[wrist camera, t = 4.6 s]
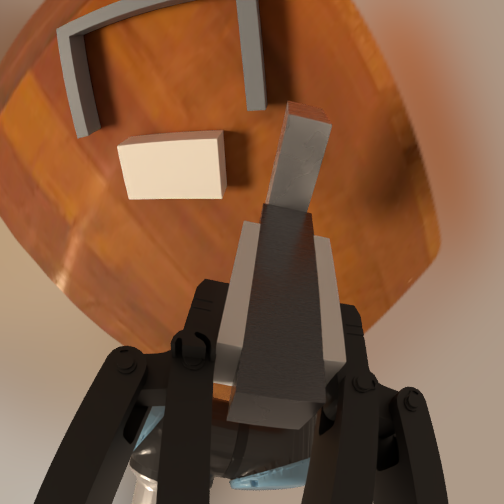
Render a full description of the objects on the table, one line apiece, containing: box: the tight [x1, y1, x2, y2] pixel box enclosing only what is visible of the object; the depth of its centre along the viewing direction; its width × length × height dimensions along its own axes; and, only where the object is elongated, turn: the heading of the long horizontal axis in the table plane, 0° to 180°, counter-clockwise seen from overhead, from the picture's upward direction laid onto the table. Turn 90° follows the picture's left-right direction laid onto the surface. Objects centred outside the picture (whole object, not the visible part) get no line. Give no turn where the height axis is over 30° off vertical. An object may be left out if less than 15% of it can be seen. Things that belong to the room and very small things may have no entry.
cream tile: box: [117, 130, 227, 199], centre depth 28 cm, size 6×10×3 cm, turn 92°
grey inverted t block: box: [226, 101, 332, 430], centre depth 14 cm, size 12×2×14 cm, turn 171°
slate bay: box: [56, 0, 267, 138], centre depth 21 cm, size 12×19×2 cm, turn 95°
